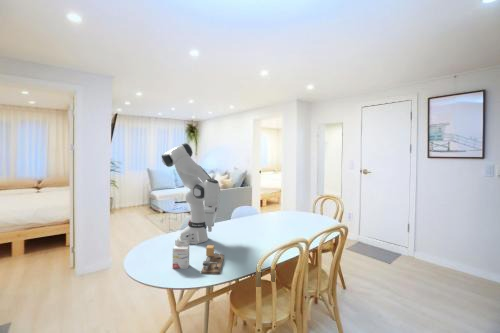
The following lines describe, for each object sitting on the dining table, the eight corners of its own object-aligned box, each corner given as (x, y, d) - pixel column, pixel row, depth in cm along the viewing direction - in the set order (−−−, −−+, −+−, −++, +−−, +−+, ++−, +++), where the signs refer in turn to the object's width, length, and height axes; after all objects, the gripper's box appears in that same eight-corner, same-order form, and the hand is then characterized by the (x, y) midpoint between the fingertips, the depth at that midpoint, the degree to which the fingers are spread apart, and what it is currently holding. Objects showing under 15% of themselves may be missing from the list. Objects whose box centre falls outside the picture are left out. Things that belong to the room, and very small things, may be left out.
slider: (206, 258, 148) (206, 247, 148) (207, 255, 152) (207, 245, 152) (219, 258, 148) (219, 248, 148) (220, 256, 152) (220, 245, 152)
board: (201, 273, 134) (201, 265, 133) (208, 255, 156) (208, 249, 155) (219, 273, 134) (219, 266, 133) (224, 256, 156) (224, 249, 155)
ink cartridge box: (172, 268, 138) (172, 243, 137) (174, 264, 143) (174, 239, 142) (187, 268, 138) (187, 243, 137) (189, 264, 143) (189, 240, 142)
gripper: (209, 202, 159) (208, 223, 160) (203, 210, 138) (202, 234, 139) (219, 202, 159) (218, 223, 160) (214, 210, 138) (213, 234, 139)
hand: (211, 228), depth 149 cm, fingers open, 8 cm apart
